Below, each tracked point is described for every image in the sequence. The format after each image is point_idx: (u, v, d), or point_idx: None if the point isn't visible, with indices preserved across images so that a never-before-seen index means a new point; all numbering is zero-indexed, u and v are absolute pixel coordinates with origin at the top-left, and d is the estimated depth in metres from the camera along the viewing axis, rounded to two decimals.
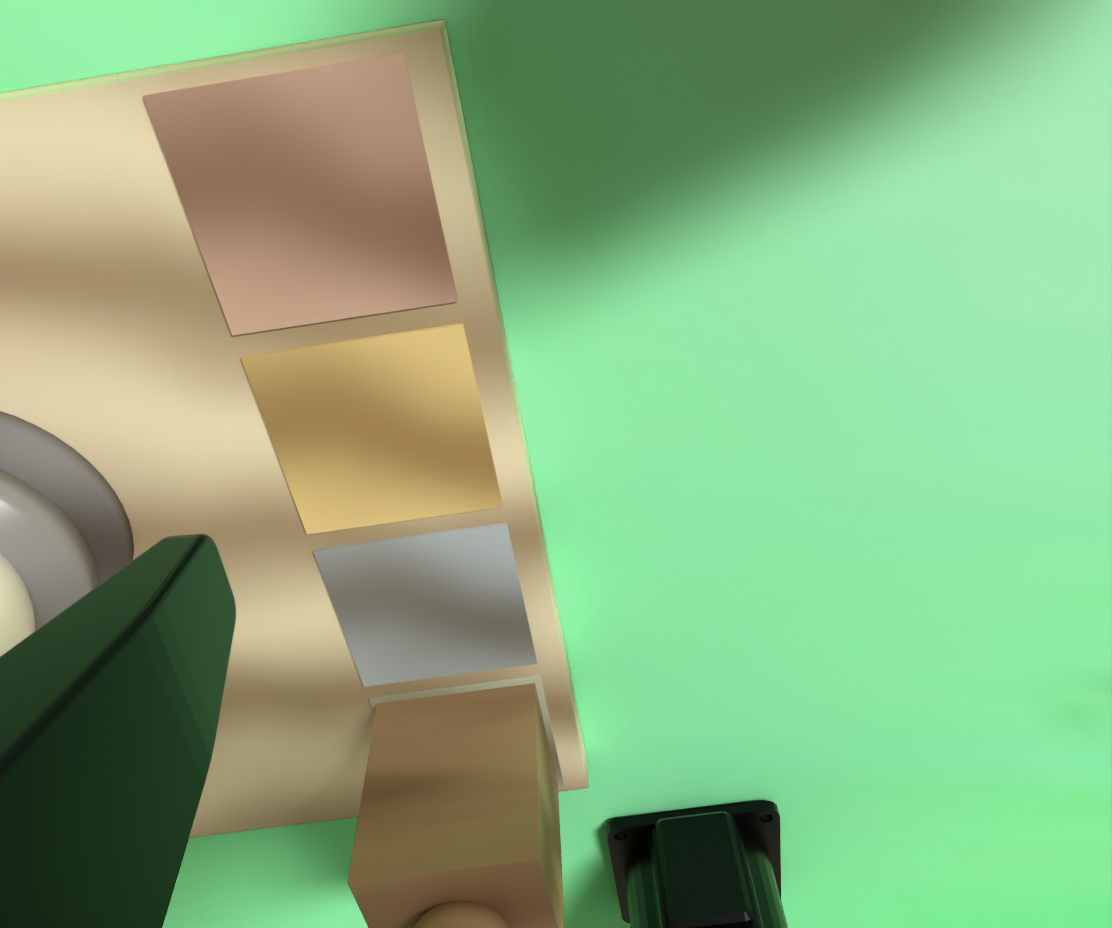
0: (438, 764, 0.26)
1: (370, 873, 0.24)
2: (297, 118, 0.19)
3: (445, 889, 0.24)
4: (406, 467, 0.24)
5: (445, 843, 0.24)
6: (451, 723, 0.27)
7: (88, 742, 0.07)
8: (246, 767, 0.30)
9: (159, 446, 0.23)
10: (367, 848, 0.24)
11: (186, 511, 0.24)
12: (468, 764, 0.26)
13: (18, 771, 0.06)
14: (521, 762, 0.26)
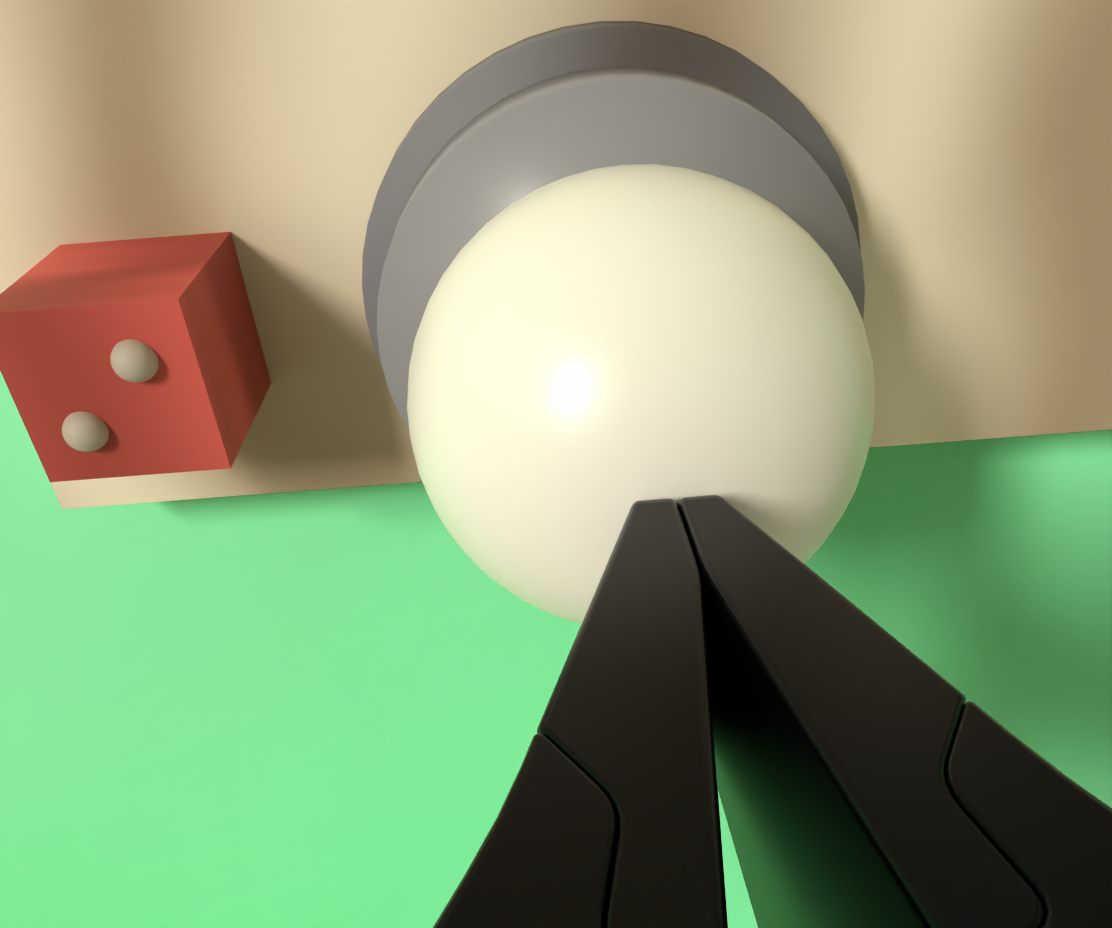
0: None
1: None
2: None
3: None
4: None
5: None
6: None
7: None
8: None
9: None
10: None
11: None
12: None
13: None
14: None
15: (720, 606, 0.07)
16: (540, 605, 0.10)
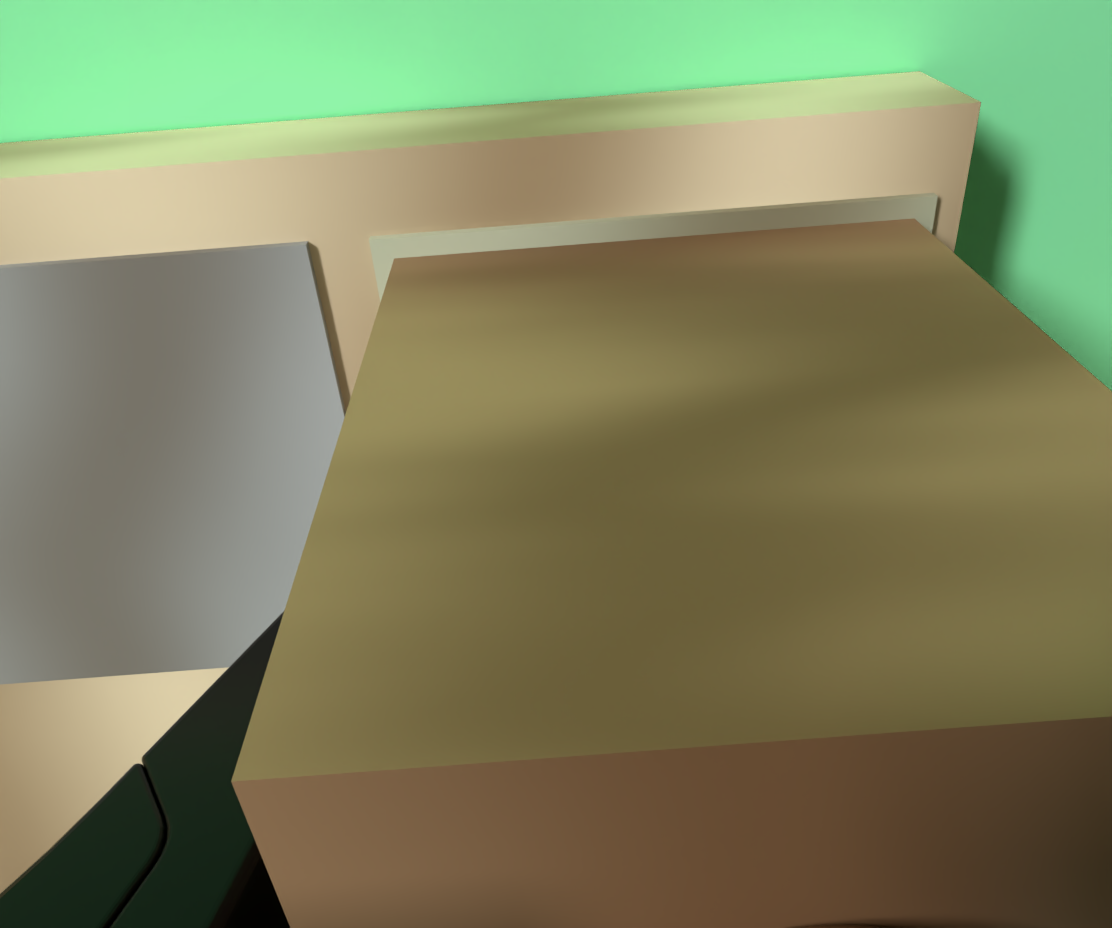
0: None
1: None
2: None
3: None
4: None
5: None
6: None
7: None
8: None
9: None
10: None
11: None
12: None
13: None
14: None
15: None
16: None
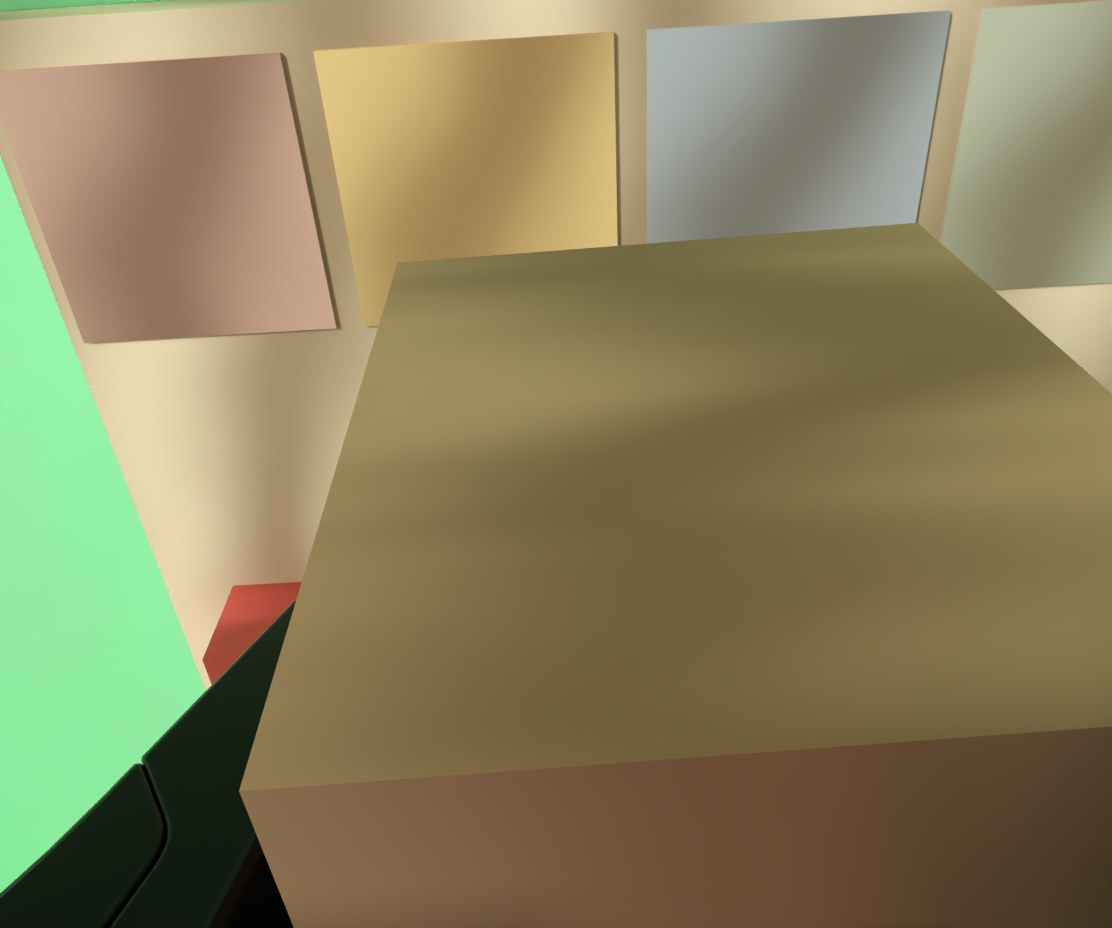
0: None
1: None
2: (81, 203, 0.18)
3: None
4: (532, 164, 0.18)
5: None
6: None
7: None
8: None
9: None
10: None
11: None
12: None
13: None
14: None
15: None
16: None
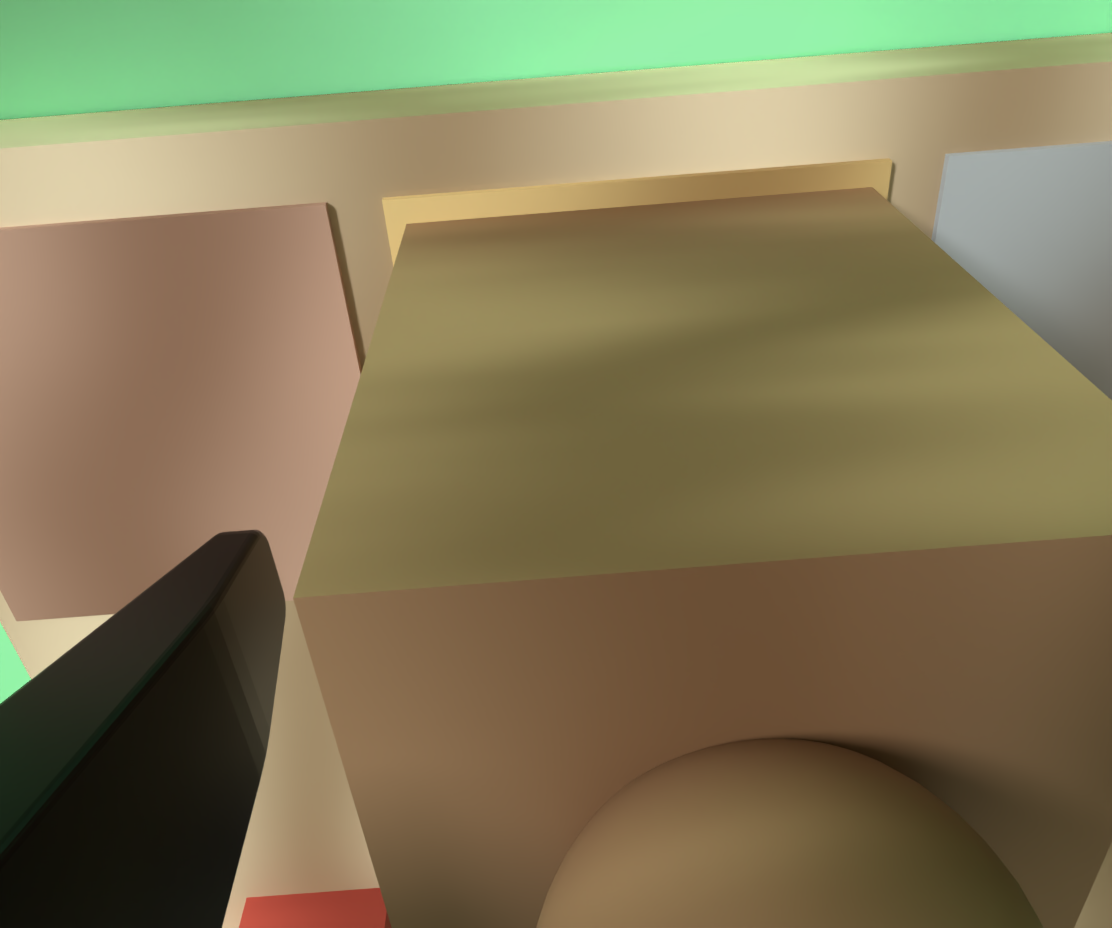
0: None
1: None
2: (1, 431, 0.11)
3: (497, 878, 0.06)
4: None
5: None
6: None
7: (158, 737, 0.06)
8: None
9: None
10: None
11: None
12: None
13: (96, 765, 0.06)
14: None
15: None
16: None
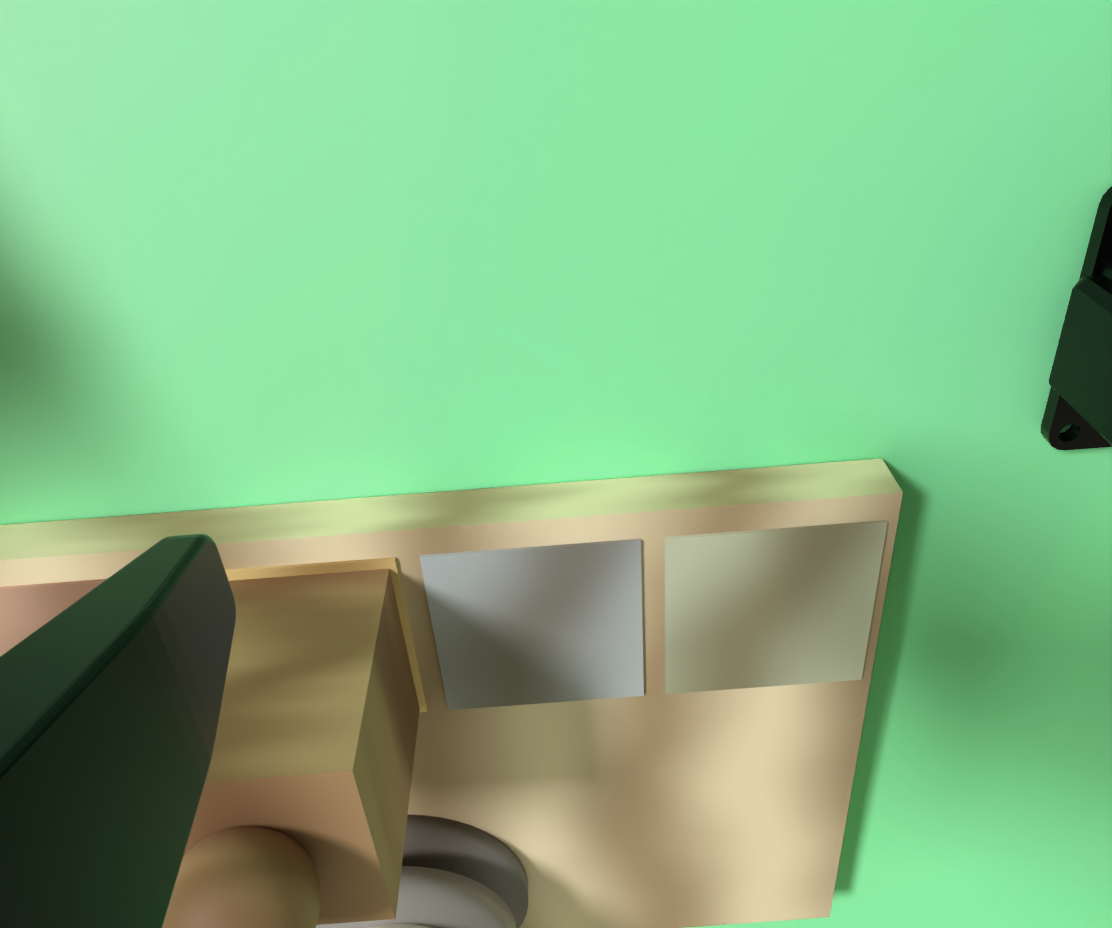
0: None
1: None
2: None
3: None
4: None
5: None
6: None
7: (88, 742, 0.07)
8: (746, 794, 0.28)
9: None
10: None
11: None
12: None
13: (18, 771, 0.06)
14: None
15: None
16: None
